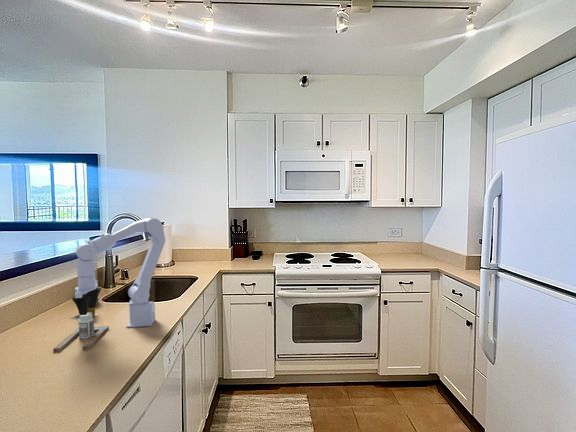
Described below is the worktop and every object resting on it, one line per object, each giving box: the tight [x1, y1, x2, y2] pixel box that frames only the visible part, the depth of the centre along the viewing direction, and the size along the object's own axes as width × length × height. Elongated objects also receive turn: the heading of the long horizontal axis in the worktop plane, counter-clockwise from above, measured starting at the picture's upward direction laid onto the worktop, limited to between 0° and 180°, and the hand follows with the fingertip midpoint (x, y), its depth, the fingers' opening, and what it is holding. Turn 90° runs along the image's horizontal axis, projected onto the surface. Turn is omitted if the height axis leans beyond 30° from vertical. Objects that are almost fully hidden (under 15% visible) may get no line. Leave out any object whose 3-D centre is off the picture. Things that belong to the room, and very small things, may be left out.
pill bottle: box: [78, 312, 95, 339], centre depth 123 cm, size 5×5×8 cm
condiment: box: [70, 295, 100, 321], centre depth 143 cm, size 7×8×12 cm
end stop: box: [74, 325, 109, 334], centre depth 127 cm, size 11×3×1 cm, turn 99°
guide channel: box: [52, 329, 107, 353], centre depth 118 cm, size 11×15×1 cm
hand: (87, 311), depth 124 cm, fingers open, 7 cm apart
